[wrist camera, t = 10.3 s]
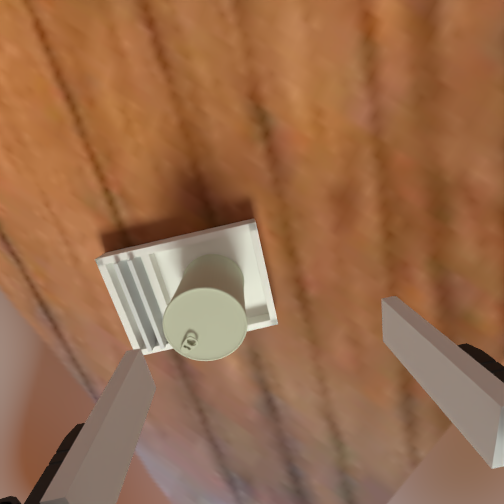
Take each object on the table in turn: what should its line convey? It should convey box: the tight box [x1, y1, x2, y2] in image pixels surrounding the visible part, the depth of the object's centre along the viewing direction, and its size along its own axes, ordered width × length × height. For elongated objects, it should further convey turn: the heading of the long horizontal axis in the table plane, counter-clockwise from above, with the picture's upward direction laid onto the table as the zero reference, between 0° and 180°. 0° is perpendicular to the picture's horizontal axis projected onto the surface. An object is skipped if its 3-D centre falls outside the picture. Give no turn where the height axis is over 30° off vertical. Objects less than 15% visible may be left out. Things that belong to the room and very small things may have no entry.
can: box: [162, 254, 248, 361], centre depth 34 cm, size 9×9×12 cm
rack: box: [95, 218, 278, 355], centre depth 38 cm, size 16×22×4 cm
